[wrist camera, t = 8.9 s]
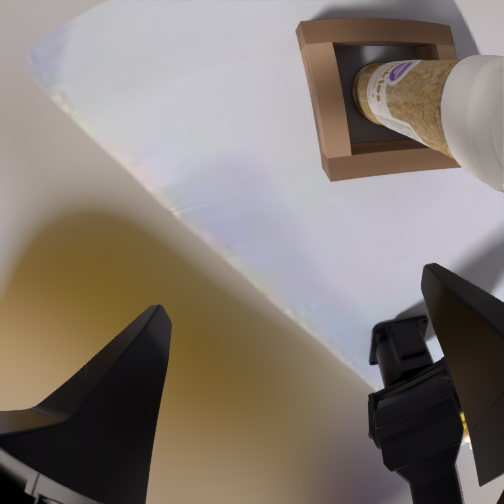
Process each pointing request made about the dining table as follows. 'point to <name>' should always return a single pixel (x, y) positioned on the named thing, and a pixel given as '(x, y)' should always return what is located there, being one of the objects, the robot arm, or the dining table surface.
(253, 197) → the dining table surface
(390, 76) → the sprinkles bottle
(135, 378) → the robot arm
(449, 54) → the walnut socket
